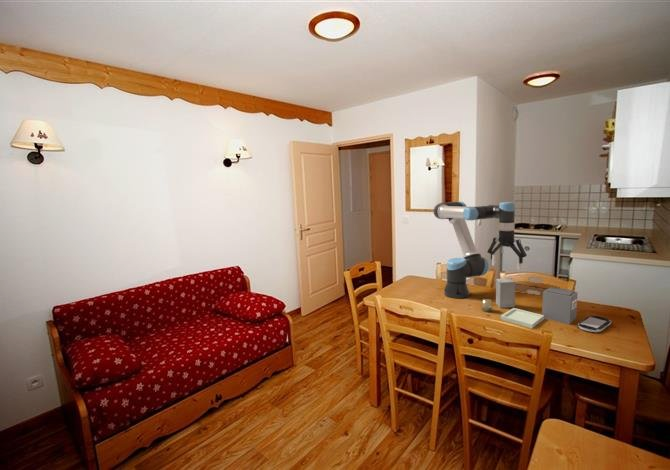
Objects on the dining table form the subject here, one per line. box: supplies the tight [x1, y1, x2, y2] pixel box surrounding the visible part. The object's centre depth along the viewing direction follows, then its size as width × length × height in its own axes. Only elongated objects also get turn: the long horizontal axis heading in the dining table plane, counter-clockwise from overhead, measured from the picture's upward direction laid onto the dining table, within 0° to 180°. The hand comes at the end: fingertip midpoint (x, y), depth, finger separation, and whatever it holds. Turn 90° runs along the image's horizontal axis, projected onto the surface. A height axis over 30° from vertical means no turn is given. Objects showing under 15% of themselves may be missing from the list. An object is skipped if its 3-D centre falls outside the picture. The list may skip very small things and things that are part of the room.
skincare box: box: [495, 277, 516, 309], centre depth 182 cm, size 8×7×16 cm
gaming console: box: [577, 315, 612, 334], centre depth 153 cm, size 19×9×2 cm, turn 122°
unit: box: [541, 286, 578, 325], centre depth 162 cm, size 12×10×15 cm
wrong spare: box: [481, 298, 493, 313], centre depth 178 cm, size 5×5×6 cm
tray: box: [500, 307, 545, 329], centre depth 165 cm, size 15×15×2 cm
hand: (506, 267), depth 179 cm, fingers open, 13 cm apart
